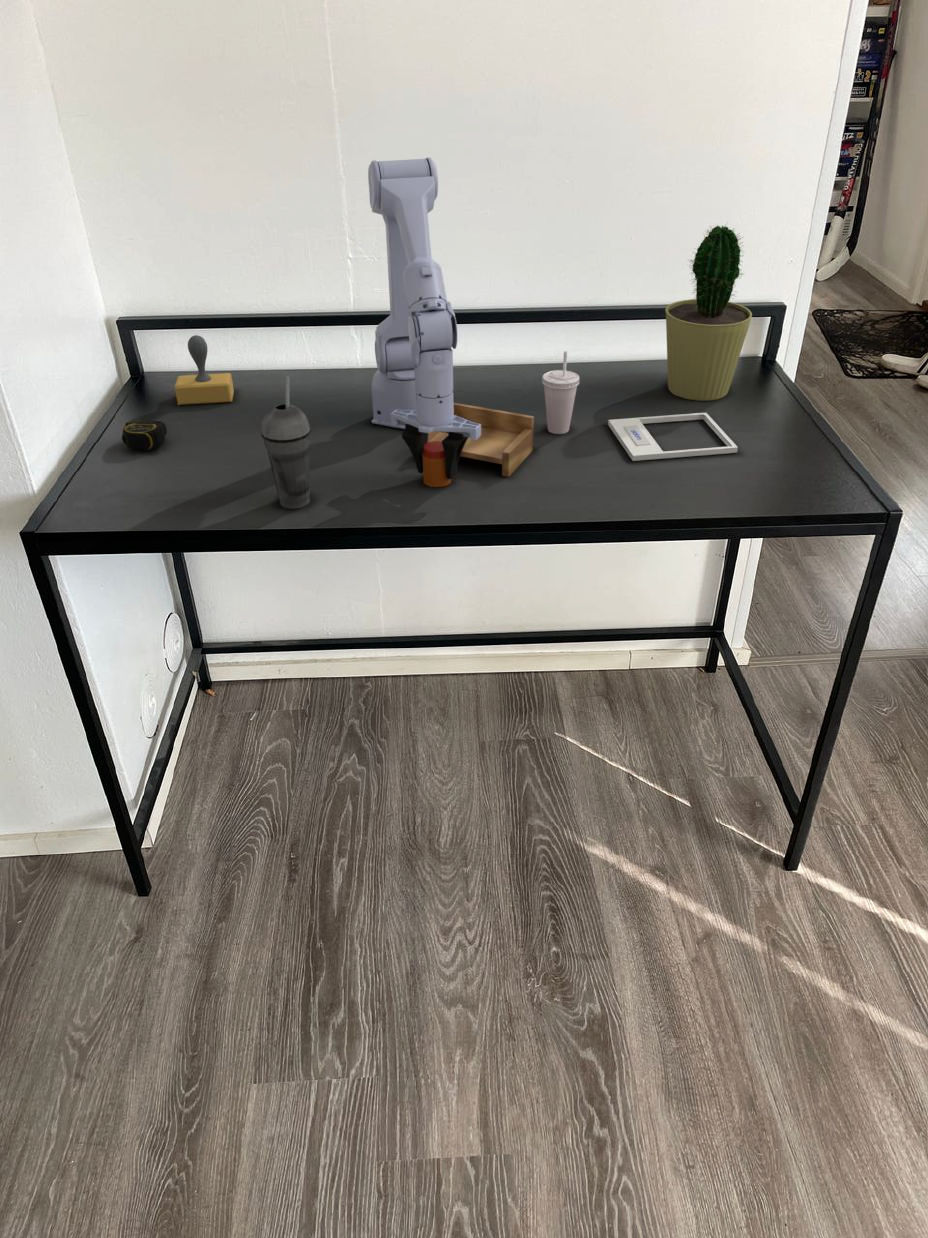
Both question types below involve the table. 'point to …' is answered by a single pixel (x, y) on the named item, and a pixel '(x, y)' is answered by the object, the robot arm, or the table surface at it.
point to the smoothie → (560, 397)
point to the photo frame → (646, 447)
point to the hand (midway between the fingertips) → (436, 473)
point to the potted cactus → (707, 322)
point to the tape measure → (144, 434)
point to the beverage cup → (288, 452)
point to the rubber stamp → (203, 380)
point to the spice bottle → (434, 465)
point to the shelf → (495, 436)
